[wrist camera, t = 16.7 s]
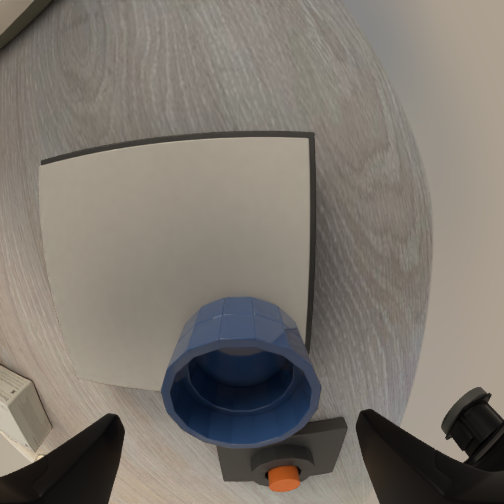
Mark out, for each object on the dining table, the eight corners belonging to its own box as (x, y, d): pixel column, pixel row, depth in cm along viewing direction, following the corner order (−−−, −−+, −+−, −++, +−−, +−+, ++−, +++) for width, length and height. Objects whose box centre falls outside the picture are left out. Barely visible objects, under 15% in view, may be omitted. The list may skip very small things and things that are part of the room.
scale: (303, 140, 15) (318, 128, 12) (299, 366, 18) (308, 395, 15) (62, 162, 15) (33, 159, 11) (92, 359, 18) (74, 383, 15)
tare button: (298, 462, 18) (301, 477, 16) (296, 475, 18) (298, 490, 16) (268, 465, 18) (269, 480, 16) (267, 478, 18) (268, 493, 16)
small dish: (303, 290, 14) (329, 333, 9) (296, 388, 15) (311, 443, 10) (174, 293, 13) (147, 337, 9) (189, 391, 15) (177, 446, 10)
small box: (33, 379, 18) (7, 407, 13) (53, 428, 20) (36, 455, 15) (-9, 356, 18) (-34, 377, 13) (11, 405, 20) (-8, 427, 15)
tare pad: (343, 416, 20) (353, 440, 17) (329, 463, 21) (335, 483, 19) (216, 427, 19) (213, 453, 17) (224, 471, 21) (223, 493, 18)
